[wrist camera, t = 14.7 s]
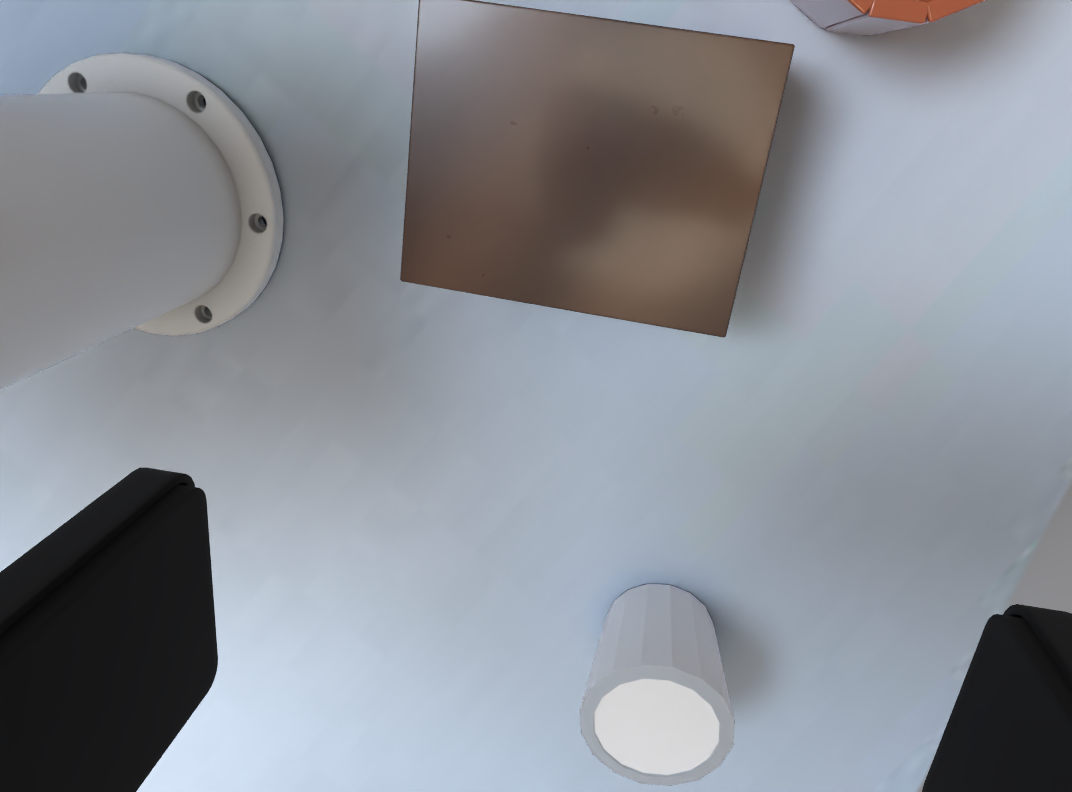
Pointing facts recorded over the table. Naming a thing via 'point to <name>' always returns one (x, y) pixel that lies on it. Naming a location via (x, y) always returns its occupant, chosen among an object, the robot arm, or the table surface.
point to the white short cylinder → (658, 690)
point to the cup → (878, 13)
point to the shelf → (587, 161)
